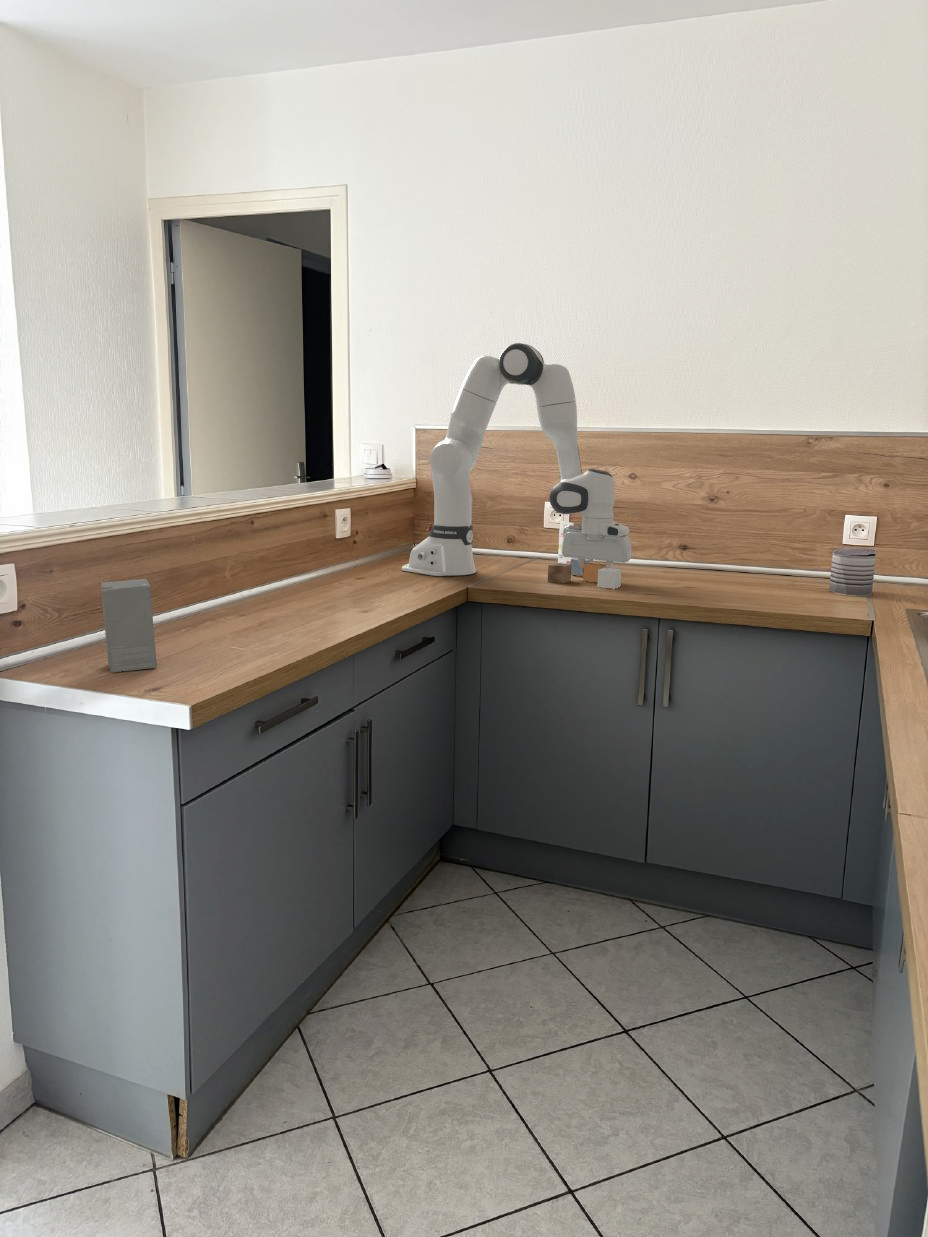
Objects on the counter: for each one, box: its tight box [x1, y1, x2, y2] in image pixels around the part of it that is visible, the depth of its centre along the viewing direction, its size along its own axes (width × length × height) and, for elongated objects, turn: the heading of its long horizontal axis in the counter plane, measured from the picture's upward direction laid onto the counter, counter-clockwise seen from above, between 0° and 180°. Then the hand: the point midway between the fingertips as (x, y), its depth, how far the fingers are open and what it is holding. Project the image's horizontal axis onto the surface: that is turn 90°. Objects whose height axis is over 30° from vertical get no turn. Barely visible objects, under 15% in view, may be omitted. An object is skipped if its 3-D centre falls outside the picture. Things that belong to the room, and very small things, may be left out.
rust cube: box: [582, 561, 608, 583], centre depth 269 cm, size 5×5×5 cm
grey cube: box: [596, 567, 622, 590], centre depth 260 cm, size 5×5×5 cm
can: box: [828, 547, 878, 597], centre depth 258 cm, size 11×11×12 cm
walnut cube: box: [547, 562, 572, 584], centre depth 267 cm, size 5×5×5 cm
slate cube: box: [571, 558, 594, 578], centre depth 279 cm, size 5×5×5 cm
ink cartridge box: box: [557, 520, 575, 564], centre depth 289 cm, size 9×5×15 cm, turn 25°
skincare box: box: [100, 578, 158, 674], centre depth 169 cm, size 8×7×16 cm
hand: (594, 575), depth 270 cm, fingers closed on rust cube, 5 cm apart
